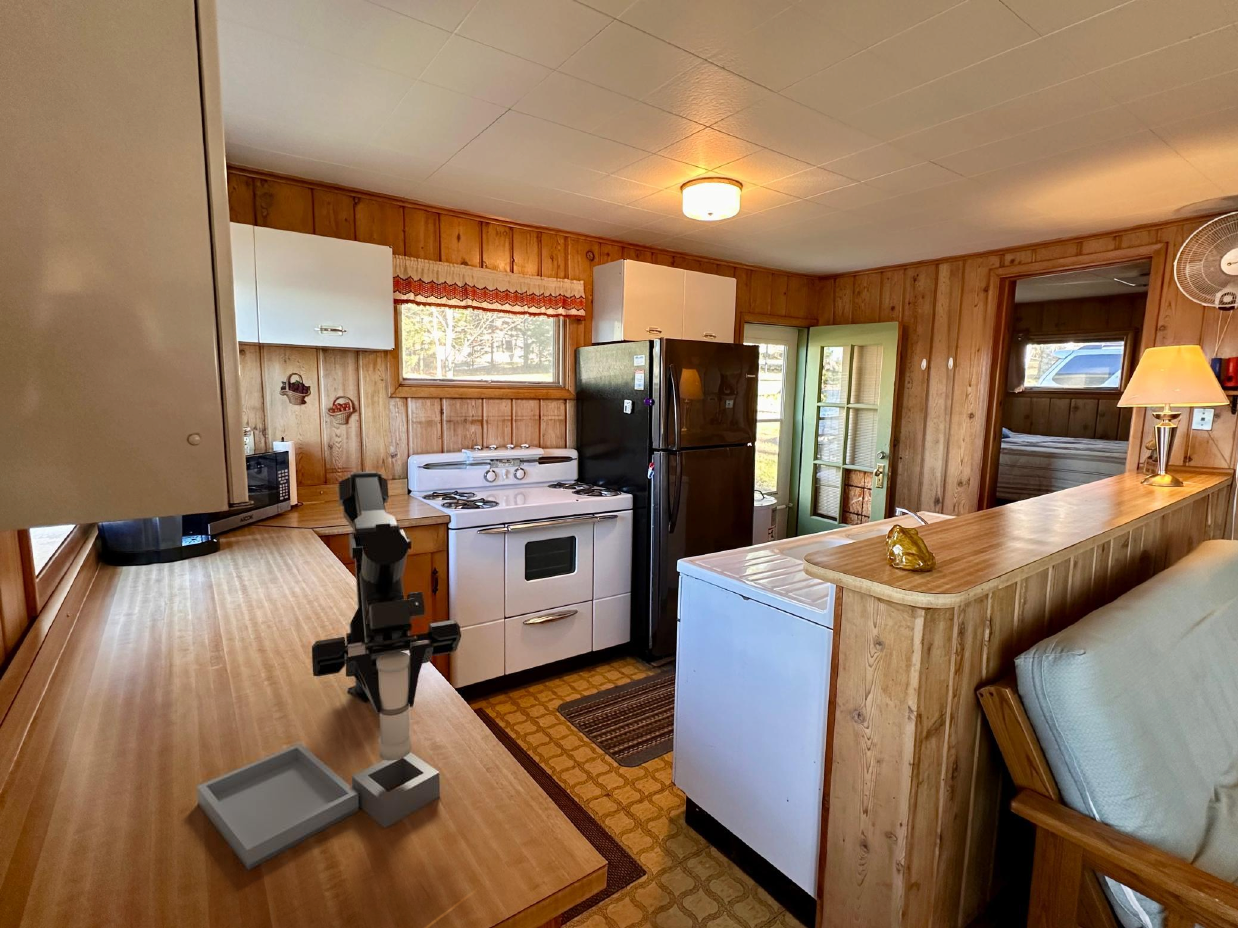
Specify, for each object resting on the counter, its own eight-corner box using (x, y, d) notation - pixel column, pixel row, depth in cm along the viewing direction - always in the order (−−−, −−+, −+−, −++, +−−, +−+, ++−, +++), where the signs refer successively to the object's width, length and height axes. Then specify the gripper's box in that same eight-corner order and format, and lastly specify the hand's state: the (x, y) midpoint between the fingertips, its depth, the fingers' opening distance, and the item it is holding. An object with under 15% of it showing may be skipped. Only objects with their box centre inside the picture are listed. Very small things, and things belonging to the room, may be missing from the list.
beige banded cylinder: (373, 752, 80) (370, 658, 79) (400, 739, 83) (398, 648, 82) (389, 764, 78) (386, 668, 76) (417, 750, 81) (415, 657, 79)
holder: (352, 800, 81) (352, 775, 81) (407, 771, 87) (406, 749, 87) (384, 828, 76) (383, 802, 76) (439, 796, 82) (439, 772, 82)
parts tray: (198, 803, 80) (196, 785, 79) (300, 758, 90) (300, 742, 89) (248, 869, 69) (247, 849, 69) (358, 810, 79) (358, 792, 79)
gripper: (308, 581, 77) (313, 704, 69) (457, 564, 86) (477, 672, 77) (311, 619, 85) (315, 734, 77) (446, 601, 93) (464, 702, 85)
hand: (395, 709), depth 79 cm, fingers closed on beige banded cylinder, 4 cm apart
